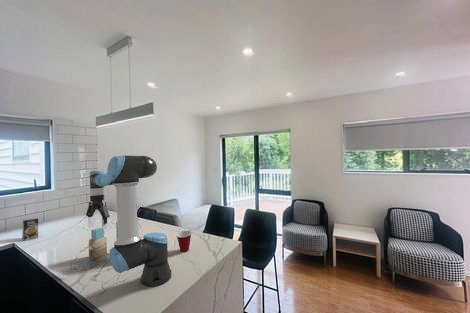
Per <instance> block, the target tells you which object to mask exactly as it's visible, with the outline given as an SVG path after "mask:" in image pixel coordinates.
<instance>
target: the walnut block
mask: <svg viewBox="0 0 470 313" xmlns="http://www.w3.org/2000/svg"><path fill="white" fill-rule="evenodd" d="M107 248H108V246H107V247H105V248H102V249H100V250H97V251H93V250H89V249H88V257H89V259H91V260H94V261H97V260H99V259H101V258H104V257H106V256H107V253H108V251H107V250H108V249H107Z"/></svg>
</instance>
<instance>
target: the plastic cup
mask: <svg viewBox="0 0 470 313" xmlns="http://www.w3.org/2000/svg"><path fill="white" fill-rule="evenodd" d="M192 234H193V231H191V230H183V231H179V232H177V233H176V234H175V237H176V238H177V242H178V248H179V251H180V253H186V252H189V250H190V246H191V245H190V244H191V238H192Z"/></svg>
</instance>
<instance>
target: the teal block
mask: <svg viewBox="0 0 470 313" xmlns="http://www.w3.org/2000/svg"><path fill="white" fill-rule="evenodd" d="M90 230H91V231H90V232H91V233H90V234H91V235H90V236H91V237H90V239H92V240H99V239H102V238H104V237H105V229H104V230H102V227H97V228H93V229H90Z"/></svg>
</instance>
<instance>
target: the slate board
mask: <svg viewBox="0 0 470 313" xmlns="http://www.w3.org/2000/svg"><path fill="white" fill-rule="evenodd" d="M109 261H110V262H111V260H110V252H107V256H106V257H104V258H101V259H99V260H97V261H94V260H91V259H89V256H87V257H85V258H82V259H80V260H77V261H73V263H72V264H73V265H77V266H79V267H83V268H86V269H89V270H92V269H94V268H96V267H98V266H101V265H102V264H103V265H104V264H105V263H106V262H109Z"/></svg>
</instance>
